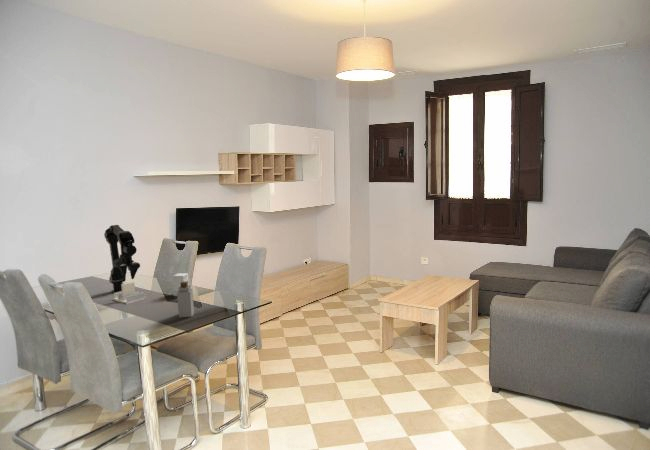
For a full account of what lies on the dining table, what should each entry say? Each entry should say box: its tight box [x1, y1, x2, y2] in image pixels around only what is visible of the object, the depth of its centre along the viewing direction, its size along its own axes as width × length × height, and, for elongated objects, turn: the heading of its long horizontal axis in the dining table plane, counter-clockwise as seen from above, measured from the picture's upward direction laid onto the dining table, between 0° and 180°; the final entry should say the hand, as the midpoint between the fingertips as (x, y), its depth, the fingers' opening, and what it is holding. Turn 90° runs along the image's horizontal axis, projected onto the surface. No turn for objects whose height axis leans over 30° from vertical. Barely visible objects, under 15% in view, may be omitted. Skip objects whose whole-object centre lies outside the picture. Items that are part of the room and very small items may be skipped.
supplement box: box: [172, 272, 190, 297], centre depth 305 cm, size 7×7×13 cm
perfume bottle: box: [176, 282, 195, 318], centre depth 264 cm, size 7×7×18 cm
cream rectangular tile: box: [121, 281, 136, 295], centre depth 298 cm, size 2×7×9 cm, turn 142°
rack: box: [112, 290, 146, 305], centre depth 298 cm, size 15×12×4 cm
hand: (128, 278), depth 298 cm, fingers open, 9 cm apart
